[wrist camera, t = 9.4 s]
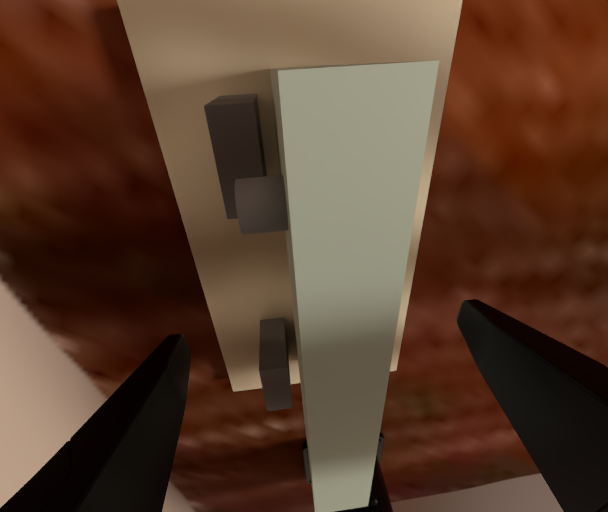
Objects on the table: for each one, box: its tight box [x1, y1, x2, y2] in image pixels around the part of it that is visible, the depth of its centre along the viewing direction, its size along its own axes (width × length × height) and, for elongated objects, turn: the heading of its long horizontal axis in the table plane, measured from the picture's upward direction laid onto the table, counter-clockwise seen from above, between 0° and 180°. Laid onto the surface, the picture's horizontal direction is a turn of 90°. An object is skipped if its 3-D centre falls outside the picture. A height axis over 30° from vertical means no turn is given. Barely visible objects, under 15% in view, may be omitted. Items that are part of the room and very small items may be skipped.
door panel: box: [235, 60, 439, 512], centre depth 10 cm, size 14×3×7 cm, turn 3°
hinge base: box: [117, 0, 463, 411], centre depth 13 cm, size 18×10×4 cm, turn 3°
